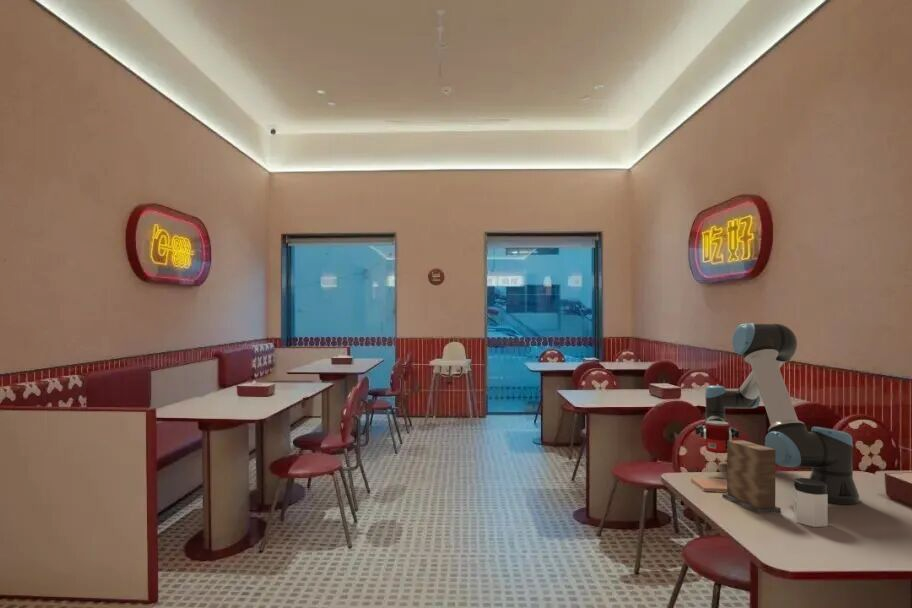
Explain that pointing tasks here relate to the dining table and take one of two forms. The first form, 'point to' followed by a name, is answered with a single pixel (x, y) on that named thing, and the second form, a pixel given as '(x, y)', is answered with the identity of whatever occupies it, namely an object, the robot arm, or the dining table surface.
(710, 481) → the terracotta tile
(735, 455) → the wooden block
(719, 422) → the canned food
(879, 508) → the dining table surface
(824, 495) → the jar
